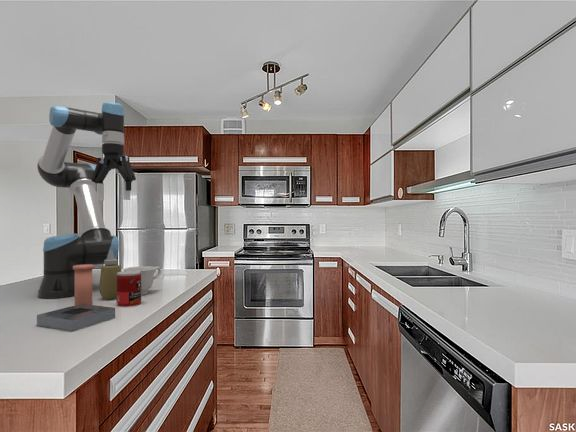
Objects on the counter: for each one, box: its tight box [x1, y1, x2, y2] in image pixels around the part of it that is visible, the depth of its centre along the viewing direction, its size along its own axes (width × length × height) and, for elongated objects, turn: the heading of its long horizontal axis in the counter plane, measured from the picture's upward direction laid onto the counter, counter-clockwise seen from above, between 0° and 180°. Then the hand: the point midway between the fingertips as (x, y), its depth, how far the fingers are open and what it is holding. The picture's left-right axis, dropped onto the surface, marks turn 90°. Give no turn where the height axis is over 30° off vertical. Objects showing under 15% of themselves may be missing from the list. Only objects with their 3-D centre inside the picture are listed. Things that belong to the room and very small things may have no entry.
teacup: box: [122, 265, 162, 296], centre depth 145 cm, size 12×15×10 cm
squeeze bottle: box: [98, 250, 122, 301], centre depth 136 cm, size 8×8×18 cm
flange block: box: [36, 304, 116, 332], centre depth 106 cm, size 14×14×3 cm
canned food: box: [116, 270, 142, 307], centre depth 127 cm, size 8×8×11 cm
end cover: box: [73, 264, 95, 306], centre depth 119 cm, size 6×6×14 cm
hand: (113, 200), depth 139 cm, fingers open, 13 cm apart
